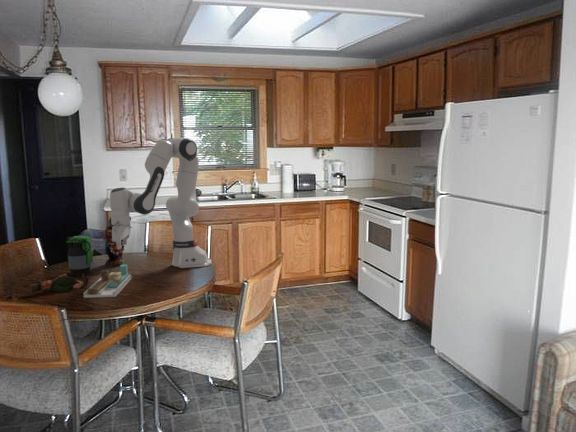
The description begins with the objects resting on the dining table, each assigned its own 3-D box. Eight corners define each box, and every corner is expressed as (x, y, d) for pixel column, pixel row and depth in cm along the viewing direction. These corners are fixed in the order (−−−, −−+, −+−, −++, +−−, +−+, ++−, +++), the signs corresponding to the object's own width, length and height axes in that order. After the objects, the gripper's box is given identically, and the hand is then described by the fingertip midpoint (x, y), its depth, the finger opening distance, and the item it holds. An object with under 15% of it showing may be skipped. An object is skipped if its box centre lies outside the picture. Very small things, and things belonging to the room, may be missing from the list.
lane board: (131, 278, 236) (131, 274, 236) (115, 296, 209) (115, 292, 208) (103, 279, 235) (103, 275, 235) (83, 297, 208) (83, 292, 207)
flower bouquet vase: (98, 267, 258) (94, 214, 253) (113, 260, 273) (110, 210, 268) (122, 268, 255) (119, 215, 250) (137, 261, 270) (134, 211, 265)
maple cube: (121, 280, 224) (121, 271, 223) (119, 283, 220) (118, 274, 219) (112, 281, 224) (111, 272, 223) (109, 283, 219) (108, 274, 219)
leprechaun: (91, 283, 222) (34, 289, 204) (87, 297, 226) (30, 304, 209) (85, 268, 228) (29, 272, 211) (81, 282, 232) (25, 287, 215)
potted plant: (92, 275, 242) (89, 238, 239) (66, 276, 241) (62, 238, 238) (99, 270, 253) (96, 234, 249) (74, 270, 252) (71, 234, 249)
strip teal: (128, 275, 238) (128, 264, 237) (117, 287, 218) (116, 275, 217) (121, 275, 238) (120, 264, 237) (109, 287, 218) (108, 275, 217)
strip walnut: (110, 280, 229) (110, 269, 228) (97, 293, 209) (96, 281, 208) (102, 280, 228) (101, 269, 227) (88, 294, 209) (87, 281, 208)
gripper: (120, 223, 221) (122, 251, 224) (132, 216, 242) (133, 242, 244) (107, 223, 221) (109, 251, 223) (119, 216, 241) (121, 242, 243)
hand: (122, 246), depth 234 cm, fingers open, 8 cm apart
